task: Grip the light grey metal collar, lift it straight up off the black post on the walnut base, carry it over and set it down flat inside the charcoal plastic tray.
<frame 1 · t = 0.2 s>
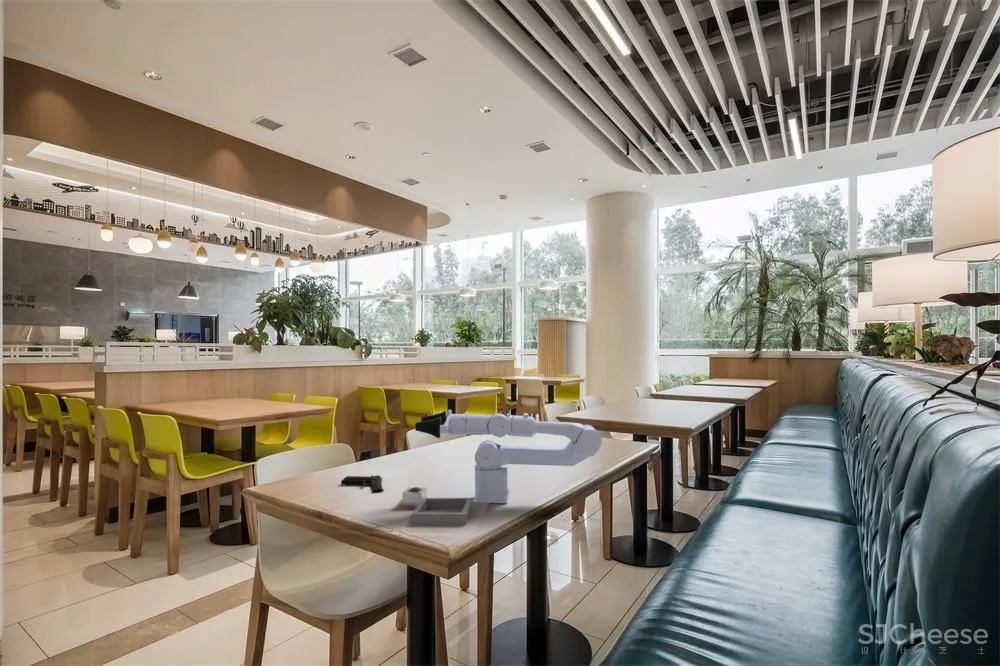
hand: (418, 423, 140), 21 cm above the table, tool horizontal, fingers open, 7 cm apart
tray: (443, 517, 124), on the table
handgun: (361, 489, 153), on the table
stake: (416, 506, 133), on the table
collar: (414, 503, 134), point 1 cm above the table, touching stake
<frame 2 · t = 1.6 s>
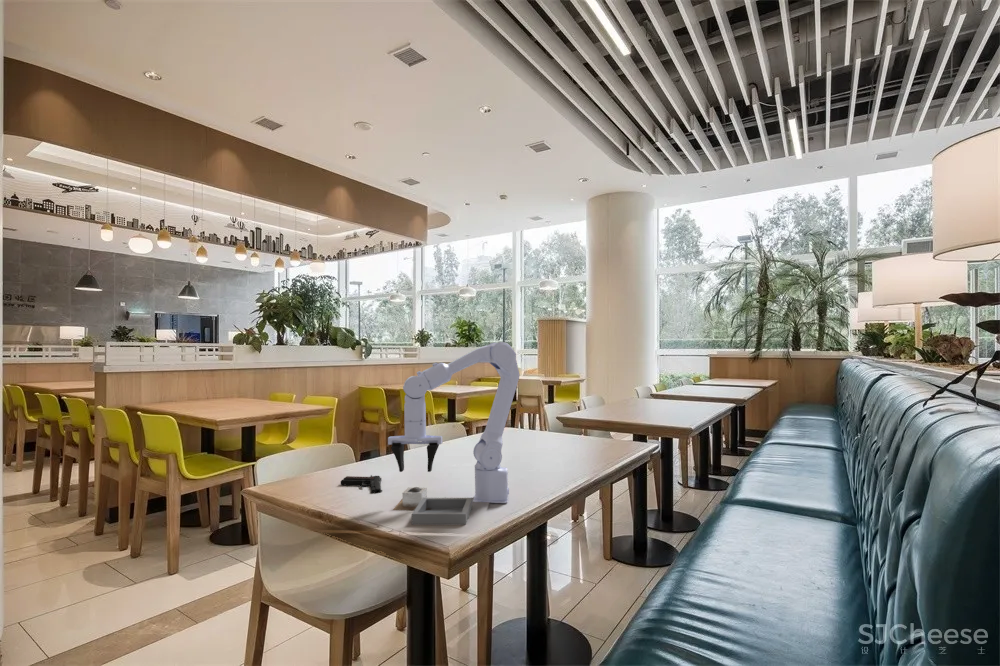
hand: (415, 471, 134), 9 cm above the table, tool pointing down, fingers open, 7 cm apart
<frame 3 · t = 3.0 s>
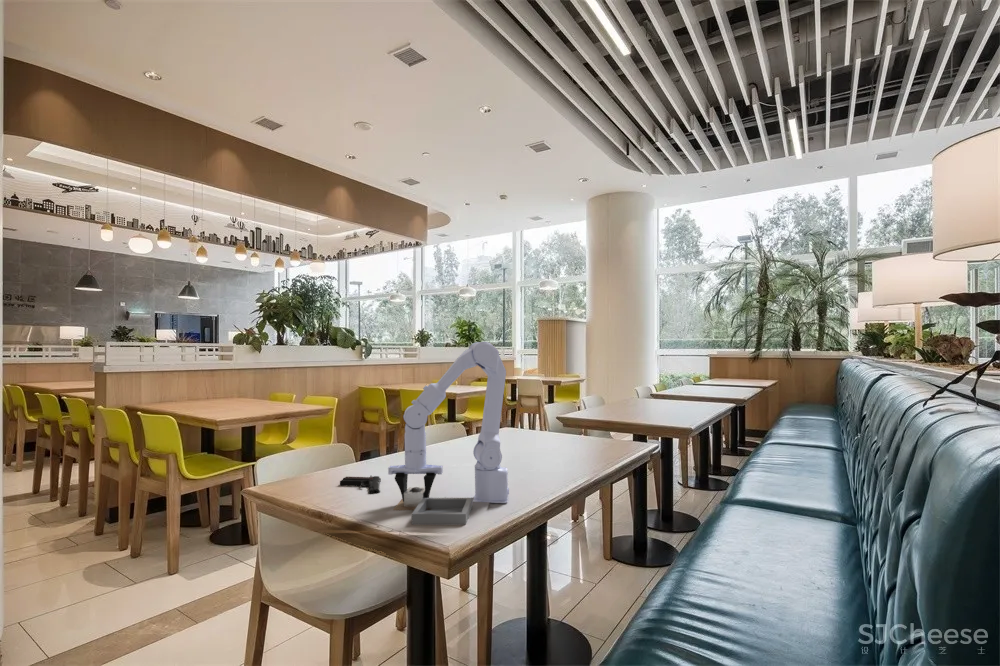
hand: (416, 500, 134), 1 cm above the table, tool pointing down, fingers closed on collar, 5 cm apart
collar: (416, 503, 134), point 1 cm above the table, touching gripper, tray
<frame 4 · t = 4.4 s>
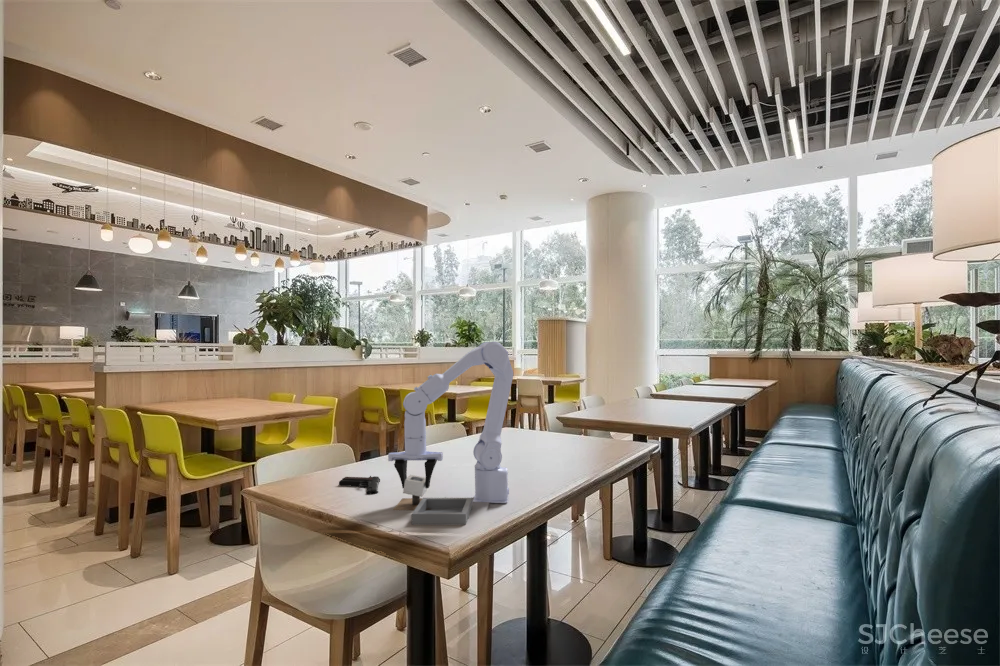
hand: (416, 487, 134), 5 cm above the table, tool pointing down, fingers closed on collar, 6 cm apart
collar: (414, 492, 134), point 4 cm above the table, tilted 10°, touching gripper
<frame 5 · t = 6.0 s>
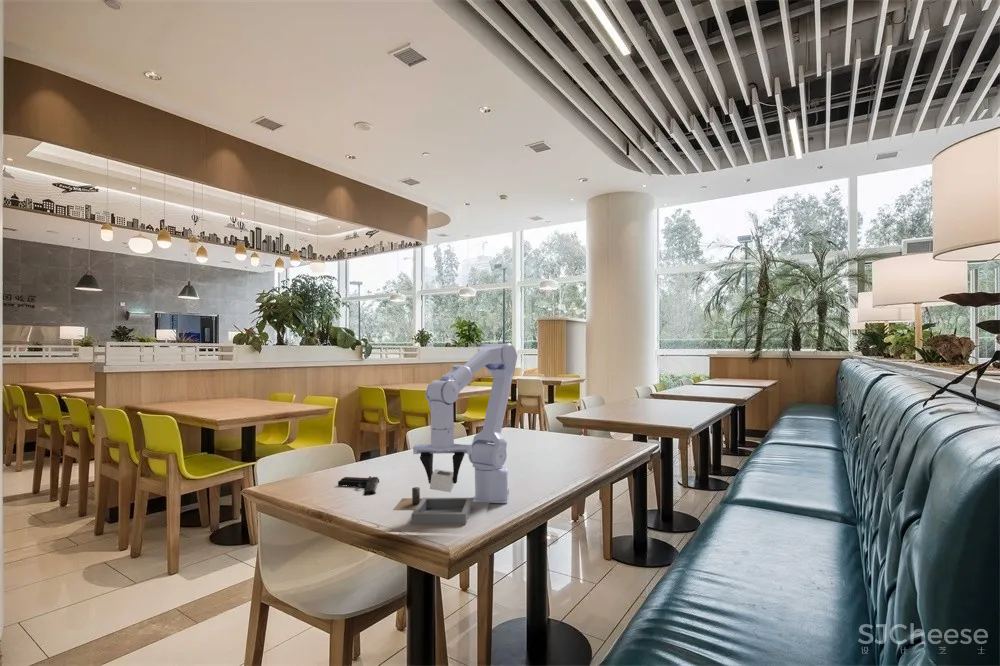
hand: (442, 482, 124), 9 cm above the table, tool pointing down, fingers closed on collar, 5 cm apart
collar: (441, 487, 124), point 7 cm above the table, tilted 10°, touching gripper
when the fingers open (3 cm above the table, at t = 8.0 s): collar stays where it is, resting on tray.
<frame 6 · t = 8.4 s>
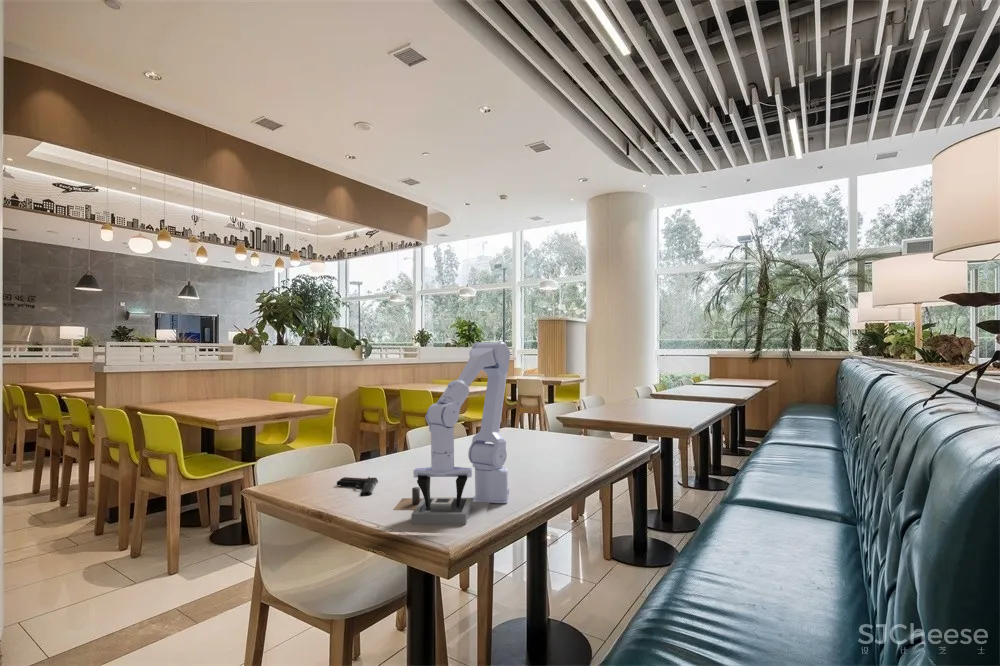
hand: (443, 505, 124), 3 cm above the table, tool pointing down, fingers open, 7 cm apart
collar: (442, 515, 124), point 1 cm above the table, touching tray
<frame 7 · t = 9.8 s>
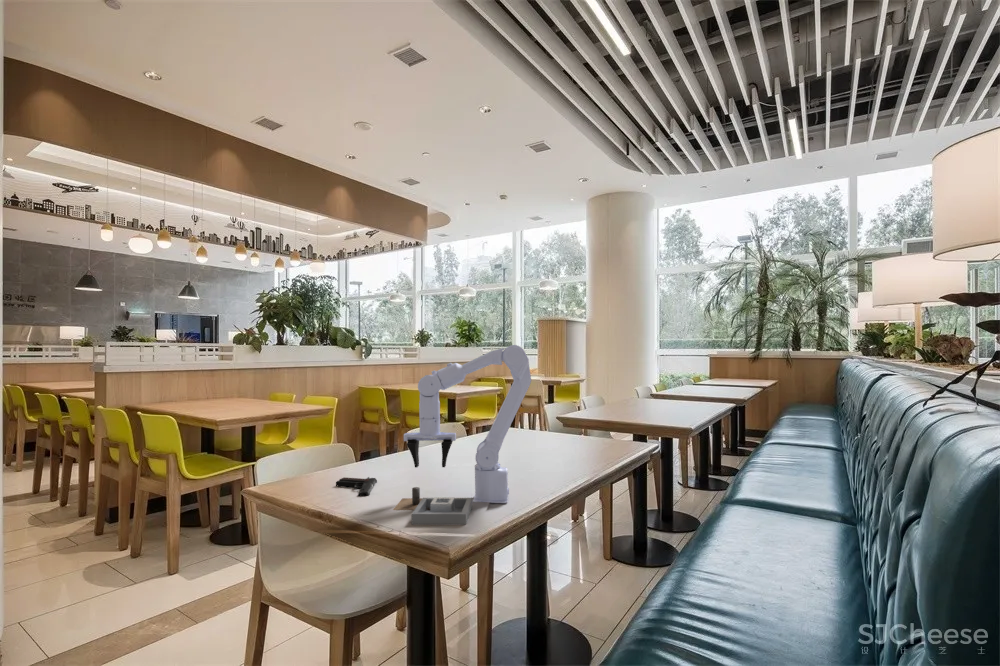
hand: (430, 466, 139), 9 cm above the table, tool pointing down, fingers open, 7 cm apart
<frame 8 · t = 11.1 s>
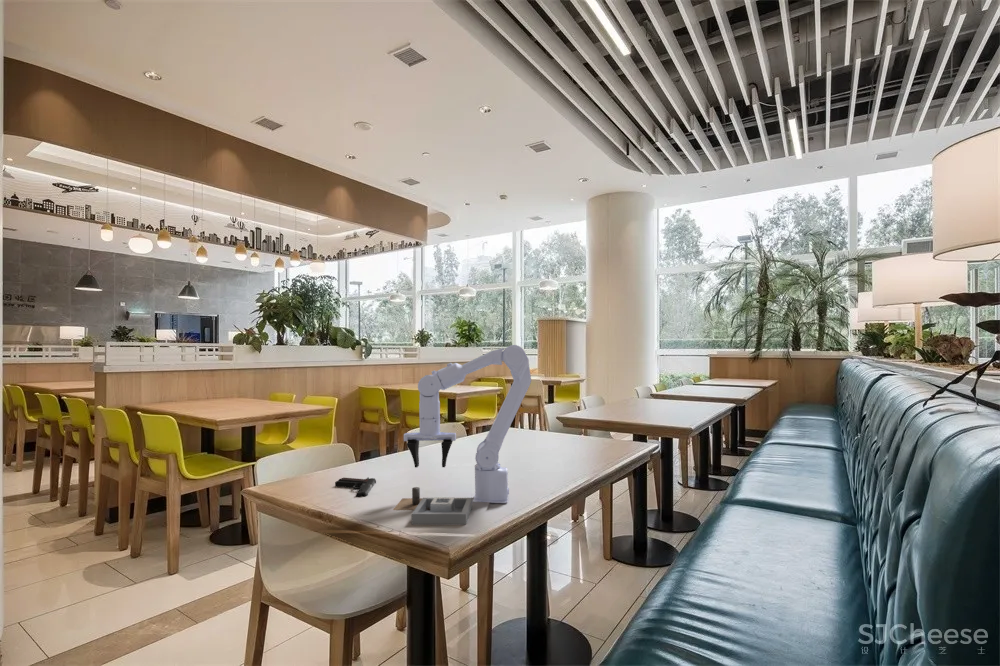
hand: (430, 466, 139), 9 cm above the table, tool pointing down, fingers open, 7 cm apart
at the end: collar inside the target area on the tray (0.1 cm from its centre), point 0.6 cm above the tray's base; collar tilted 0°; the gripper is holding nothing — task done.
